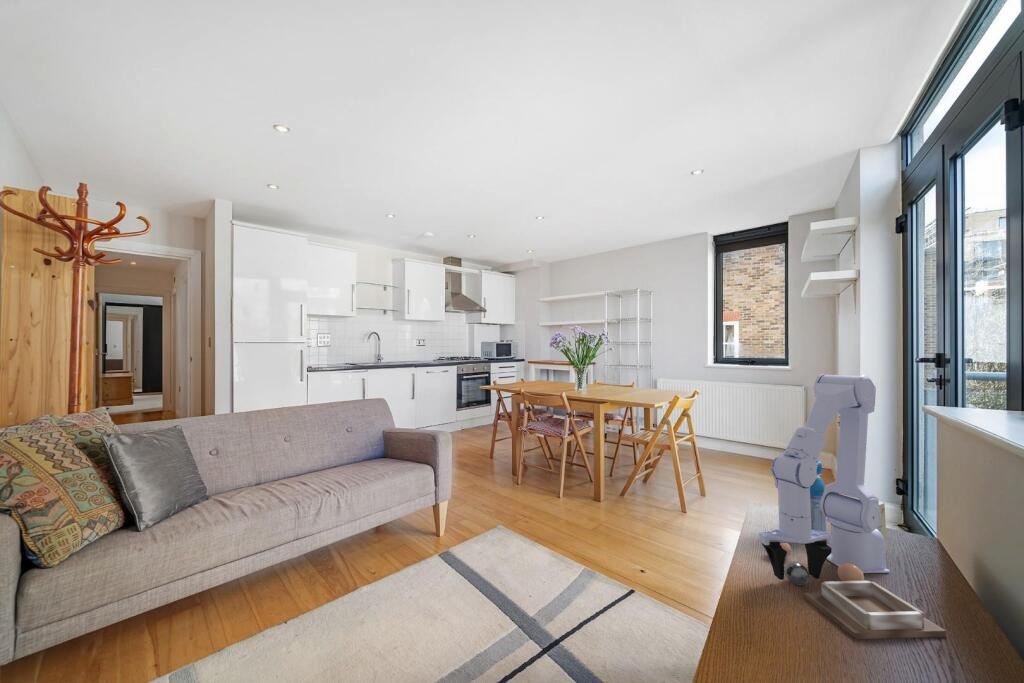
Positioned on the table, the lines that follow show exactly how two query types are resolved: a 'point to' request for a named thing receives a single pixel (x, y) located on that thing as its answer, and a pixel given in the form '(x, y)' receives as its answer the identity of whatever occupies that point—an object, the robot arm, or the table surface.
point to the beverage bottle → (817, 502)
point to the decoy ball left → (850, 572)
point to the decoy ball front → (786, 548)
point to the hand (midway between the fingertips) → (796, 576)
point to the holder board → (871, 611)
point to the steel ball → (796, 573)
